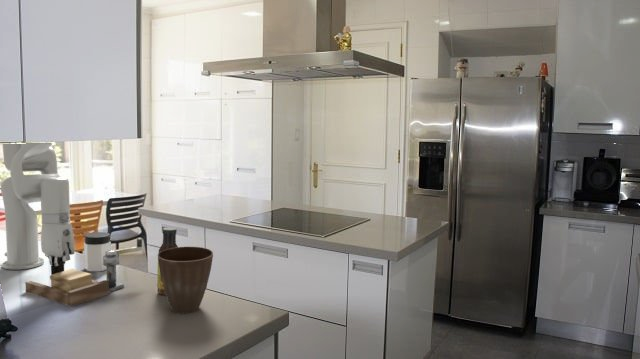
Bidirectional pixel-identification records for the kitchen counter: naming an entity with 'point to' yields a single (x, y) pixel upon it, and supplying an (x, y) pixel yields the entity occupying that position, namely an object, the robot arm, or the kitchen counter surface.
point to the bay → (69, 292)
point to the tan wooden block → (70, 280)
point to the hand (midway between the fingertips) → (57, 277)
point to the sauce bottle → (168, 243)
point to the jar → (96, 250)
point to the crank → (124, 250)
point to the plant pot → (185, 276)
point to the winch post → (112, 272)
